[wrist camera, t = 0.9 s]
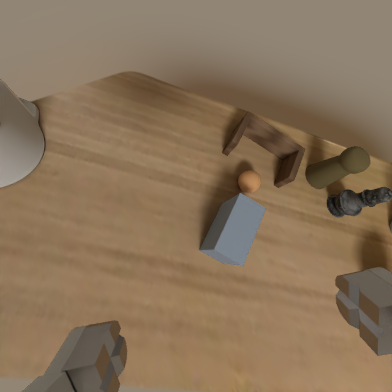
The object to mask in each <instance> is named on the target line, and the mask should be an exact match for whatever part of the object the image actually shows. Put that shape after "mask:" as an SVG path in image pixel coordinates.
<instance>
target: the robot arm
mask: <svg viewBox="0 0 392 392" xmlns="http://www.w3.org/2000/svg"><path fill="white" fill-rule="evenodd" d="M38 120H39V110H38V108H37V107H36V106H35V105H34V104H33V103H31V102H29V101H26V100H24V99H21V98H18V97H17V96H16V95H15V94H14V93H13V92H12V90H11V89H10V88H9V87H8V86H7V85H6V84H5V83H4V82H3V81H2V80H1V79H0V187H4V186H7V185H10V184H13V183H15V182H17V181H19V180H21V179H22V178H24V177H25V176H27V175H28V174H29V173H30V172H32V171H33V169H34V168H35V167H36V166H37V165H38V163H39V162H40V160H41V158H42V155H43V152H44V145H45V144H44V137H43V134H42V131H41V129H40V127H39V124H38ZM335 285H336V286H337V287H338V288H339V289H340V290H339V292H338V293H337V295H336V304H337V306H338V309H339V311H340V313H341V315H342V316H343V318H344V319H345V320H346V321H347V322H348V324H349V325H351V326H353V327H355V328H357V329H359V333H360V337H361V338H362V339H363V340H364V341H365V342H366V344H367V345H368V346H369V347H370V348H371V349H372V350H373V351H374V352H375V353H376V354H377V356H380V355H386V354H392V273H391V272H389V271H388V270H386V269H385V268H382V267H375V268H371V269H366V270H364V271H358V272H353V273H348V274H344V275H339V276H337V277H336V279H335ZM120 329H121V327H120V325H119V323H118V321H115V320H114V321H108V322H103V323H97V324H91V325H87V326H81V327H75V328H74V329H73V330H71V332H70V333H69V335H68V337H67V338H66V340H65V341H64V343H63V345H62V346H61V348H60V350H59V351H58V353H57V354H56V356H55V358H54V359H53V361H52V362H51V364H50V366H49V367H48V369H47V371H46V372H45V374H44V375H43V376H40V377H38V378H37V379H35V380H34V381H33V382H32V383H31V384H30V385H29V386H28V387H26V388H25V389H24V390H23V391H22V392H118V390H119V386H120V382H119V379H118V376H119V375H120V374H121V373H122V371H123V370H124V368H125V364H126V360H127V346H126V341H125V338H124V337H122V336H121V335H119V332H120Z"/></svg>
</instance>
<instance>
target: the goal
mask: <svg viewBox="0 0 392 392" xmlns="http://www.w3.org/2000/svg"><path fill="white" fill-rule="evenodd" d="M242 135H245V136H246V137H248V138H249V139H251V140H252V141H254V142H256V143H257V144H259V145H260V146H262V147H263V148H265V149H267V150H268V151H270V152H271V153H273V154H274V155H276V156H277V157H279V158H281V159H282V160H284V161H283V163H282V166H281V168H280V171H279V173H278V176H277V178H276V181H275V183H274V185H275V186H276V187H278V188H279V187H281V186H283V185H285V184H288V183H290V182H292V181H294V180H295V177H296V174H297V172H298V169H299V166H300V163H301V160H302V157H303V155H304V152H305V148H303V147H302V146H300V145H299V144H297V143H296V142H294V141H293V140H291V139H289V138H288V137H286V136H285V135H283V134H282V133H280V132H279V131H277V130H276V129H274V128H273V127H271V126H270V125H268V124H267V123H265V122H264V121H262V120H260V119H259V118H257V117H256V116H254V115H253V114H251V113H250V112H247V113H246V115H245V116H244V117H243V119H242V120H241V121H240V122H239V124H238V125H237V127H236V129H235V130H234V132H233V134H232V136H231V138H230V140H229V142H228V143H227V145H226V147H225V149H224V151H223V154H225V155H227V156H228V154H229V153H230V152H231V151H232V150H233V149H234V148H235V147H236V145H237V144H238V143H239V141H240V139H241V137H242Z"/></svg>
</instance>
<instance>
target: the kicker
mask: <svg viewBox="0 0 392 392" xmlns="http://www.w3.org/2000/svg"><path fill="white" fill-rule="evenodd" d="M265 209H266V208H265V207H263V206H261V205H260V204H258V203H256V202H255V201H253V200H251V199H250V198H248V197H246V196H245V195H243V194H242V193H239V194H237V195H236V196H234V197H232V198H231V199H229V200H227V201H226V202H224V203H222V205H221V207H220V209H219V211H218V213H217V215H216V217H215V219H214V221H213V223H212V225H211V227H210V229H209V231H208V233H207V235H206V237H205V240H204V242H203V244H202V246H201V248H200V251H201V252H203V253H205V254H207V255H208V256H210V257H212V258H214V259H215V260H217V261H219V262H221V263H223V264H230V265H238V266H243V265H244V263H245V260H246V258H247V255H248V253H249V250H250V248H251V245H252V242H253V240H254V237H255V235H256V232H257V230H258V227H259V225H260V222H261V220H262V217H263V214H264V212H265Z"/></svg>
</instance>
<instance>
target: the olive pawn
mask: <svg viewBox="0 0 392 392" xmlns="http://www.w3.org/2000/svg"><path fill="white" fill-rule="evenodd" d="M369 165H370V157H369V155H368V153H367V152H366V151H365V150H364V149H363V148H361V147H355V146H354V147H350V148H347V149H346V150H344V151H343V152H342V153H341V155H339V156H336V157H333V158H330V159H327V160H324V161H321V162H318V163H316V164H313V165H310V166H308V167H307V169H306V173H305V174H306V179H307V181H308V182H309V184H310V185H311V186H312V187H314V188H316V189H322V188H324V187H326V186H328V185H330V184H331V183H333V182H335V181H337V180H339V179H341V178H343V177H344V176H346V175H348V174H350V173H352V174H355V173H360V172H363V171H364V170H366V169H367V168H368V167H369Z"/></svg>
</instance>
